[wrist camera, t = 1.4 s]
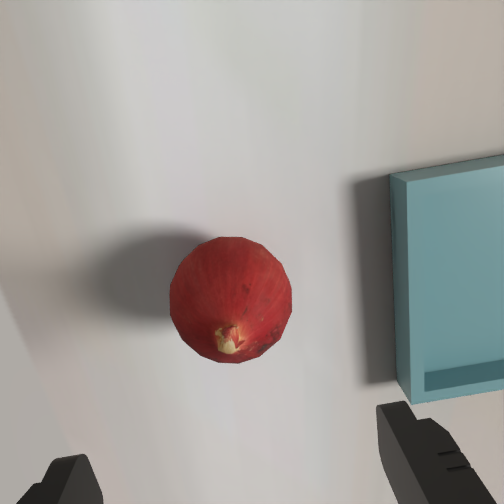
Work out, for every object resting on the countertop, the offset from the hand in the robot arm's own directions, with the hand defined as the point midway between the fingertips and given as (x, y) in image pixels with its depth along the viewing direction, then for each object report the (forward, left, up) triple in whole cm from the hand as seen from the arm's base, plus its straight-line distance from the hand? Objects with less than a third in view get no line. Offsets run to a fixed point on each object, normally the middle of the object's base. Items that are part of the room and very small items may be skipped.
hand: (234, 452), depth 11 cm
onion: (0, 0, -13) cm, 13 cm away
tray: (+3, +16, -13) cm, 21 cm away
